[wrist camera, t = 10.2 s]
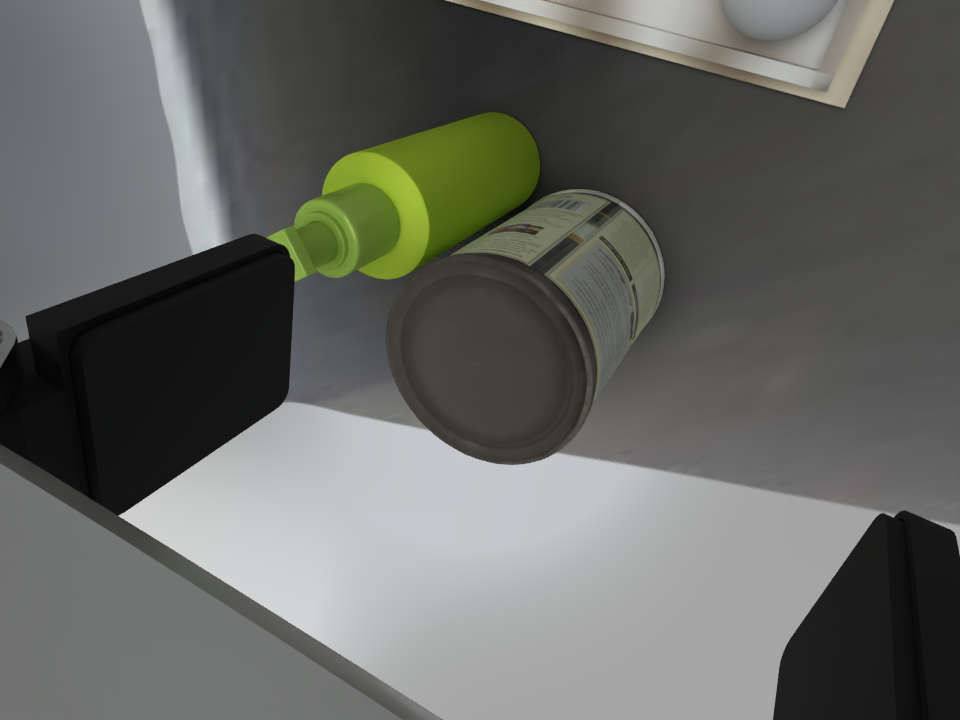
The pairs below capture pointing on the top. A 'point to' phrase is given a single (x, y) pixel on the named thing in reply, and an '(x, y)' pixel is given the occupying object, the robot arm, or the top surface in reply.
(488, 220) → the soap dispenser
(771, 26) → the grey ball
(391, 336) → the coffee can
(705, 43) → the trough board
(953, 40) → the top surface
